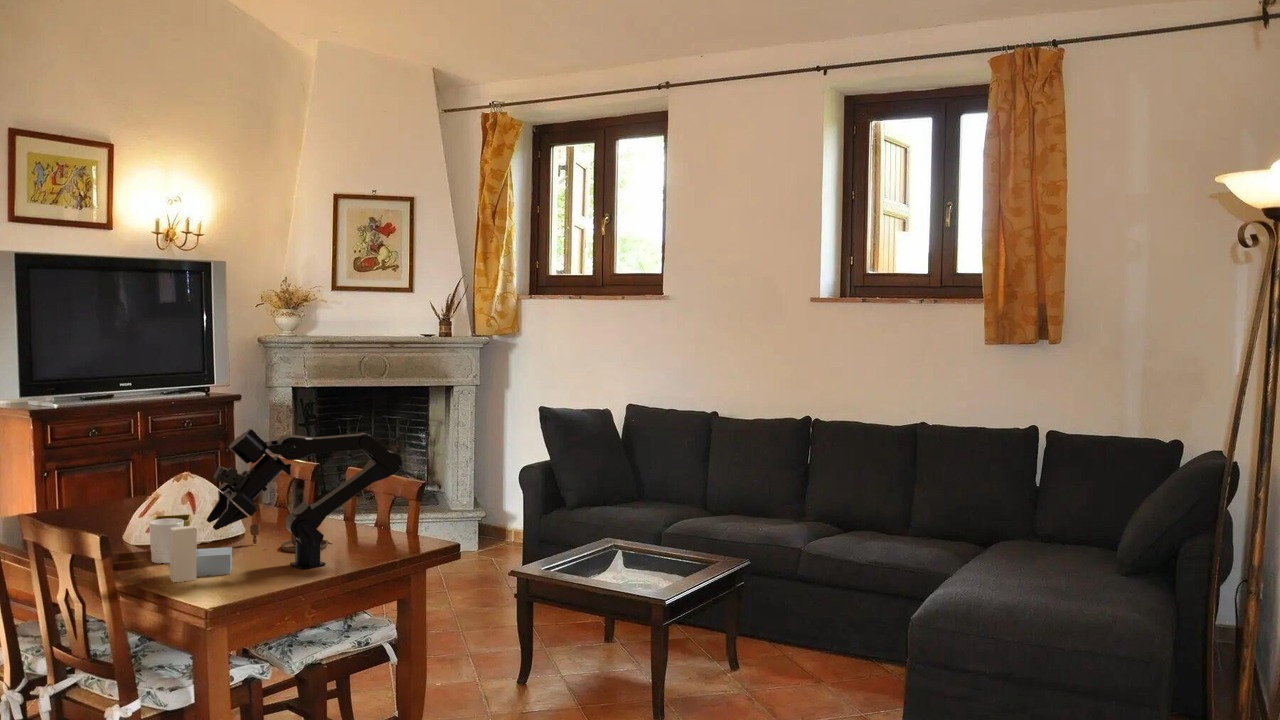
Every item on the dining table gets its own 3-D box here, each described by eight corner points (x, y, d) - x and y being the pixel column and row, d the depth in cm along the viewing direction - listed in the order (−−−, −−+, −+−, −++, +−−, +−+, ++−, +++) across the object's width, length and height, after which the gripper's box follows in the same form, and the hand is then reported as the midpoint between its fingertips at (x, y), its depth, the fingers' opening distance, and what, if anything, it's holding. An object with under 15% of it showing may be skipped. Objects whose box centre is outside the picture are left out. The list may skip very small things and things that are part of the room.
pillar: (192, 575, 237) (193, 525, 236) (196, 580, 233) (196, 529, 232) (169, 577, 234) (170, 527, 234) (173, 582, 230) (173, 531, 230)
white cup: (142, 563, 247) (142, 524, 246) (159, 556, 254) (159, 517, 254) (173, 564, 246) (173, 525, 246) (189, 557, 254) (189, 518, 254)
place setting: (287, 559, 257) (287, 536, 256) (245, 547, 269) (245, 525, 268) (344, 547, 270) (345, 526, 270) (301, 536, 283) (302, 516, 282)
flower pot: (151, 557, 254) (151, 522, 253) (154, 549, 262) (154, 515, 261) (189, 554, 257) (189, 520, 256) (190, 547, 265) (191, 513, 265)
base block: (231, 567, 246) (231, 547, 246) (230, 575, 239) (230, 554, 239) (196, 569, 244) (196, 549, 243) (194, 577, 236) (194, 556, 236)
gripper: (228, 449, 246) (179, 496, 241) (242, 459, 231) (190, 510, 225) (261, 479, 251) (214, 525, 245) (277, 490, 235) (227, 541, 230)
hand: (210, 525), depth 236 cm, fingers open, 9 cm apart
